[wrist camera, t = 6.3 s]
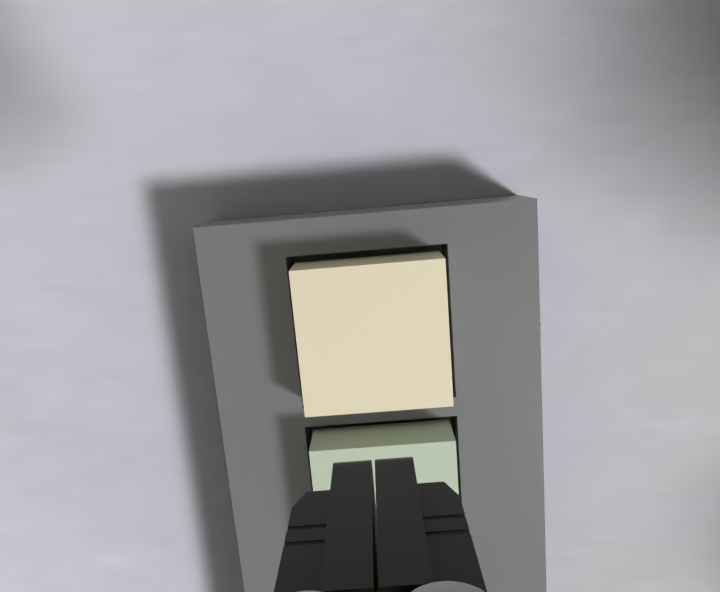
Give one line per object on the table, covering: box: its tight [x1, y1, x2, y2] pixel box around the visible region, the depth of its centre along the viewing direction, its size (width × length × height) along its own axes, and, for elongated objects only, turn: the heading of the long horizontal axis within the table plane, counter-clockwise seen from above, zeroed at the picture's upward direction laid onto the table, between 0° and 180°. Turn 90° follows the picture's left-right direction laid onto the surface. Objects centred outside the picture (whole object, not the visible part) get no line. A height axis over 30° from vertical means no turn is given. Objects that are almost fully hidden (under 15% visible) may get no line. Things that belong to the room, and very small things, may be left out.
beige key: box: [289, 251, 454, 417], centre depth 23 cm, size 6×6×2 cm
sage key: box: [309, 419, 459, 502], centre depth 24 cm, size 6×6×2 cm
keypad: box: [193, 195, 546, 592], centre depth 26 cm, size 23×13×3 cm, turn 5°
